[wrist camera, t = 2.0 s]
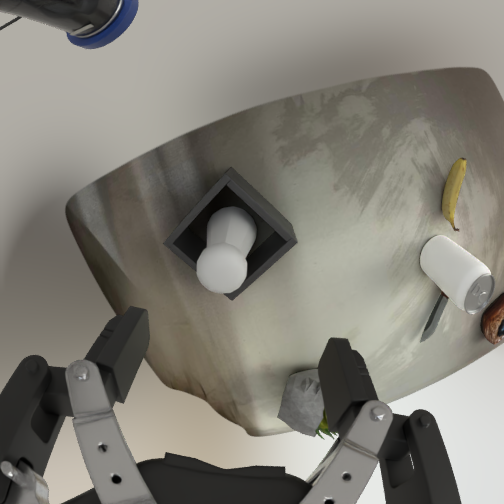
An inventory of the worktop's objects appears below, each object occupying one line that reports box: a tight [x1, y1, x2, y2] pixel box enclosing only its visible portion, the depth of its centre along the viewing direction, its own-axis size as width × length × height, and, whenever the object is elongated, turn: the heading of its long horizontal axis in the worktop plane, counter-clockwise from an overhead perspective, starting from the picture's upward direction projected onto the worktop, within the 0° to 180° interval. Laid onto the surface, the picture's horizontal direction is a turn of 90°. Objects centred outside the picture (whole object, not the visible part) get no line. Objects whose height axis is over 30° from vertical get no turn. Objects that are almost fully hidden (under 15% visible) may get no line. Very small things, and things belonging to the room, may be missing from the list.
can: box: [420, 235, 495, 314], centre depth 29 cm, size 6×6×12 cm
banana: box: [442, 158, 466, 231], centre depth 29 cm, size 10×2×4 cm, turn 3°
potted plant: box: [277, 369, 338, 439], centre depth 40 cm, size 12×13×15 cm
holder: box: [163, 167, 297, 300], centre depth 31 cm, size 10×10×6 cm
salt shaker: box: [197, 206, 257, 294], centre depth 28 cm, size 6×6×13 cm
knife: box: [420, 291, 449, 343], centre depth 37 cm, size 18×2×3 cm, turn 172°
